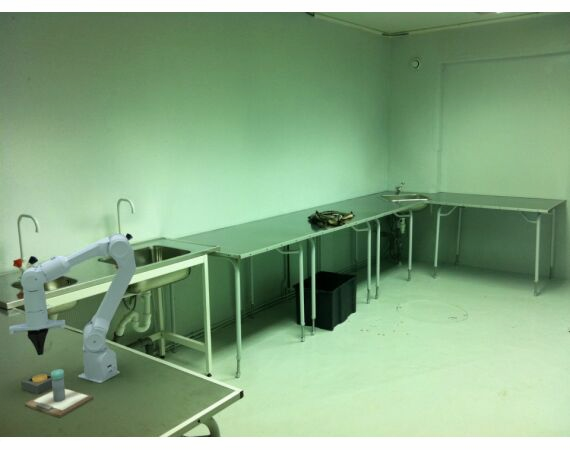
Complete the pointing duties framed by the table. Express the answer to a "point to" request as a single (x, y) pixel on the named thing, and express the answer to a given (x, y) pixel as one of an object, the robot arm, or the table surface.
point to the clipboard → (62, 407)
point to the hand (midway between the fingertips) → (40, 353)
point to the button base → (37, 384)
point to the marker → (58, 385)
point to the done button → (39, 378)
